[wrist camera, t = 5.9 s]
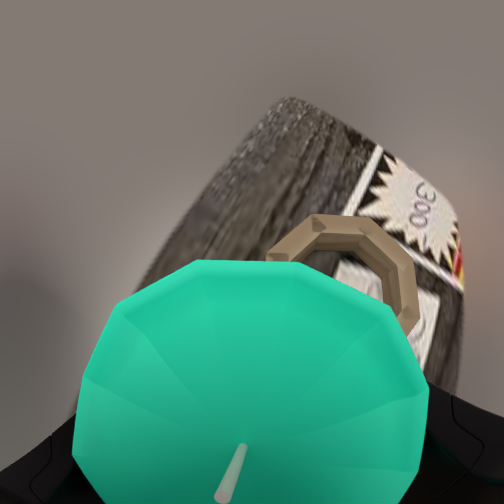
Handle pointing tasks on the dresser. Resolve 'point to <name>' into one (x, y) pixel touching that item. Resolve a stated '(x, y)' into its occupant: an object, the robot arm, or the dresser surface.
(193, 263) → the candle
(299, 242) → the socket
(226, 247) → the dresser surface
